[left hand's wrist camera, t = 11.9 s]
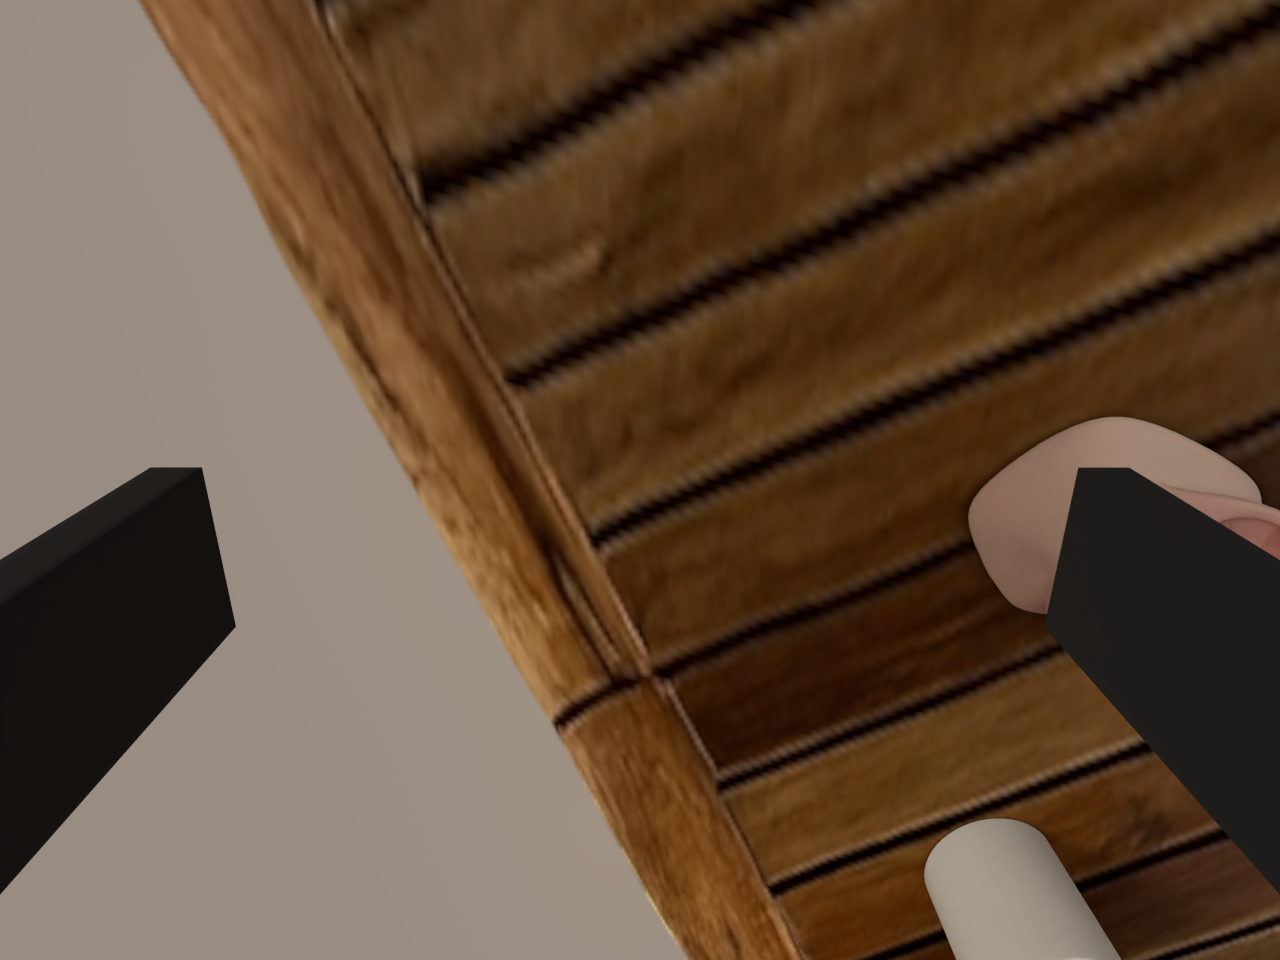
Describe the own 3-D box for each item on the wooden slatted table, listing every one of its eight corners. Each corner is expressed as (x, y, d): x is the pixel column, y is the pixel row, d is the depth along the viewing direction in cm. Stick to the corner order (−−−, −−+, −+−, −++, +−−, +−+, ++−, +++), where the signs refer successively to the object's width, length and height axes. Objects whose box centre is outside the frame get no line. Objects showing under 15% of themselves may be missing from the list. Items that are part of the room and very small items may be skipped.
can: (898, 886, 48) (954, 1036, 40) (975, 799, 46) (1052, 938, 37) (998, 930, 49) (1072, 1082, 41) (1078, 847, 47) (1174, 992, 39)
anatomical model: (958, 584, 36) (1150, 378, 32) (928, 546, 40) (1097, 356, 36) (1161, 721, 39) (1357, 543, 35) (1115, 672, 42) (1288, 508, 39)
